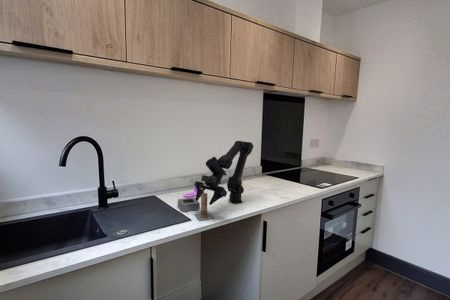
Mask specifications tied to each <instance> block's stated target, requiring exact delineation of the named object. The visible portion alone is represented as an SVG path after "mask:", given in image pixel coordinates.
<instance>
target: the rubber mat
mask: <svg viewBox="0 0 450 300" xmlns="http://www.w3.org/2000/svg"><path fill="white" fill-rule="evenodd" d="M207 213H208V214H209V215H208V217H207V218H201V217H200V213H196V214H194V217H195V218H196V220H197V221H198V222H201V221H209V220H214V219H215V217H214V216H212V214H211V213H210V212H208V211H207Z"/></svg>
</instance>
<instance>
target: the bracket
mask: <svg viewBox="0 0 450 300" xmlns="http://www.w3.org/2000/svg"><path fill="white" fill-rule="evenodd" d="M193 186H194V187H193V192H187V193H186V192H185V193H183V199H185V198H193V197H195V198H196V194H197V188H196V187H195V185H194V184H193Z"/></svg>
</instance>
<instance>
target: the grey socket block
mask: <svg viewBox="0 0 450 300" xmlns="http://www.w3.org/2000/svg"><path fill="white" fill-rule="evenodd" d="M177 207H178V208H179V210H180V211H181V213H186V212H187V213H188V212H193V211H199V210H200V211H201V202H199V200H197V201H196V197H191V198H178V199H177Z"/></svg>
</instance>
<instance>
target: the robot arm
mask: <svg viewBox="0 0 450 300" xmlns="http://www.w3.org/2000/svg"><path fill="white" fill-rule="evenodd" d="M253 149H254V144H253V142H252V141H244V140H236V141H235V142H234V144H233V145H232V146H231V147H230V149H229V150H228V151H227V153H225V154H222V155H221V156H220V157H219V158H217V157H216V156H212V157H211V158H209V159H207V160H206V162H205V166H206V168H207V169H209V171H210V173H212V174H211V175H205V174H202V176H201V180H200V181H198V180H197V181H195V182H194V184H193V186H194V185H195V187H196V188H197V194H196V197H195V198H196V201H199V200H200V199H201V194H202V193H205V191H206V190H208V191H210V192H211V191H212V192H213V195H212V196H211V198H210V201H209V203H208V204H209V206H211V205H213V204H214V203H215V202H217V201H218V200H220V199H221V198H224V197H226V196H227V195H228V192H229V198H228V201H229V202H231V204H240V203H243V200H242V194H243V193H244V192H245V188H244V186H243V185H242V184H243V180H242V176H243V172H244V169H245V166H246V162H247V159H248V156H249V155H251V154H252V151H253ZM238 153H239V155H238ZM237 155H238V160H237V162H236V166H235V169H234V172H233V175H232V176H229V177H228V181H227V183H226V188H227V190H228V191H227V190H226V188H225V187H224V186H220V185H221V184H222V182H221V181H222V179H223V177H224V176H227V173H226V170H229V169H230V168H231V166H232V164H233V161H234V159H235V157H236V156H237ZM224 169H225V170H224ZM203 182H204V183H203Z"/></svg>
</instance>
